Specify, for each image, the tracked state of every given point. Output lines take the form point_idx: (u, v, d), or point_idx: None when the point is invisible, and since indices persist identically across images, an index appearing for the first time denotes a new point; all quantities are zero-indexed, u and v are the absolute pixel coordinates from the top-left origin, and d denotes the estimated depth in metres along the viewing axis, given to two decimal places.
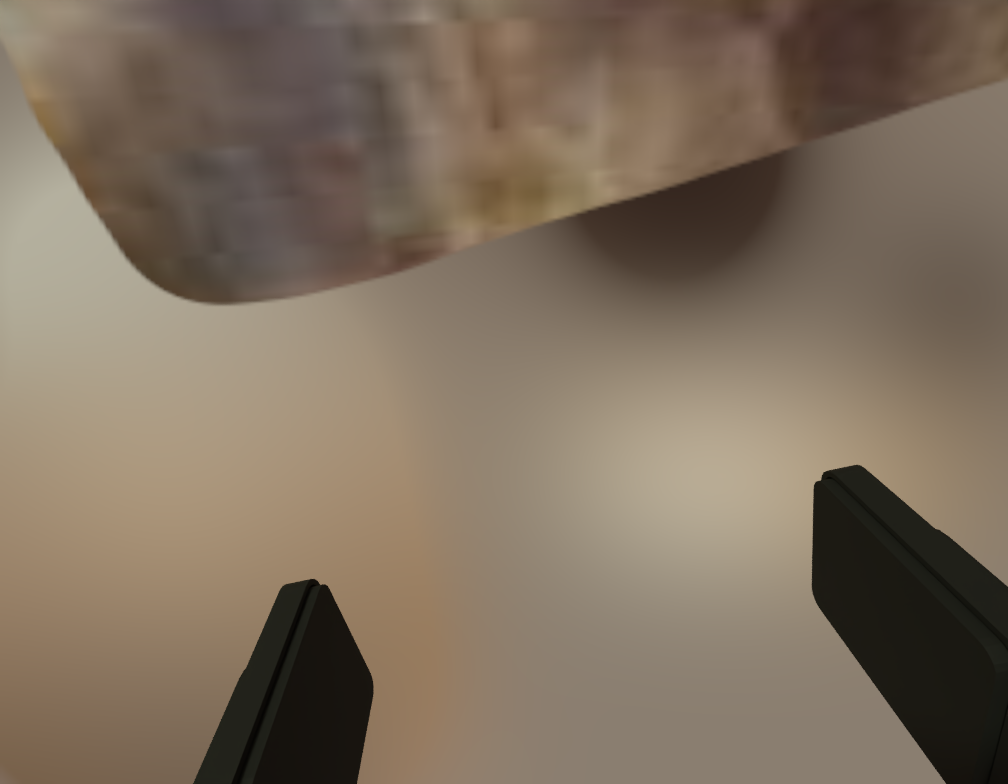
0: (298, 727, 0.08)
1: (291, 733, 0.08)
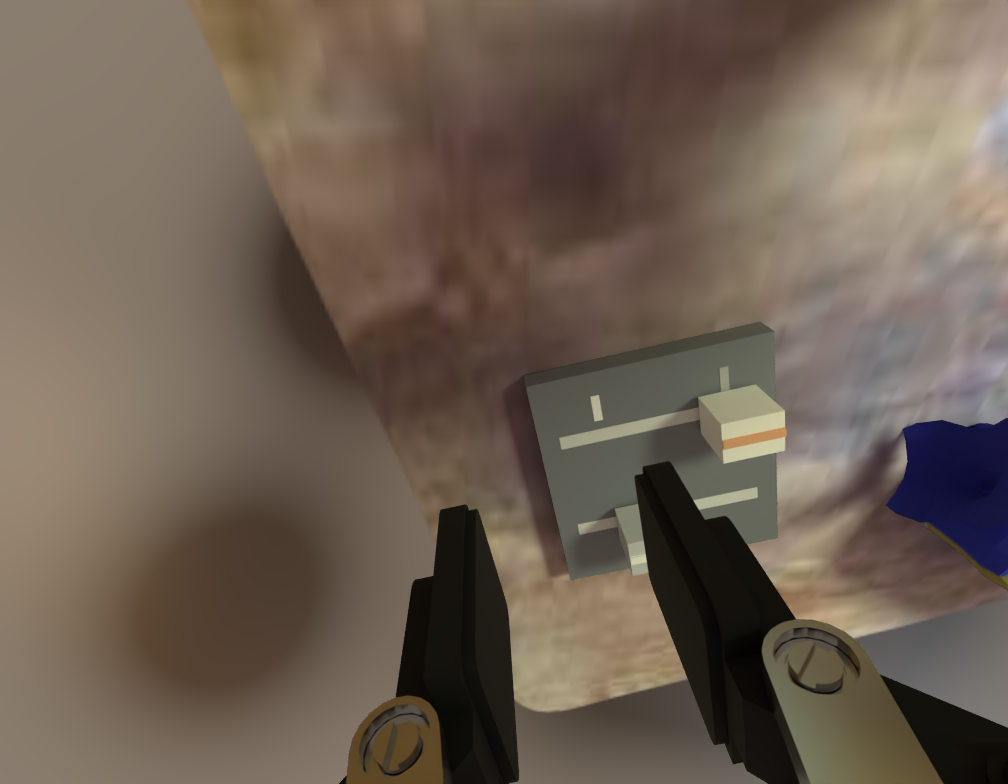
0: (485, 621, 0.09)
1: (483, 624, 0.09)
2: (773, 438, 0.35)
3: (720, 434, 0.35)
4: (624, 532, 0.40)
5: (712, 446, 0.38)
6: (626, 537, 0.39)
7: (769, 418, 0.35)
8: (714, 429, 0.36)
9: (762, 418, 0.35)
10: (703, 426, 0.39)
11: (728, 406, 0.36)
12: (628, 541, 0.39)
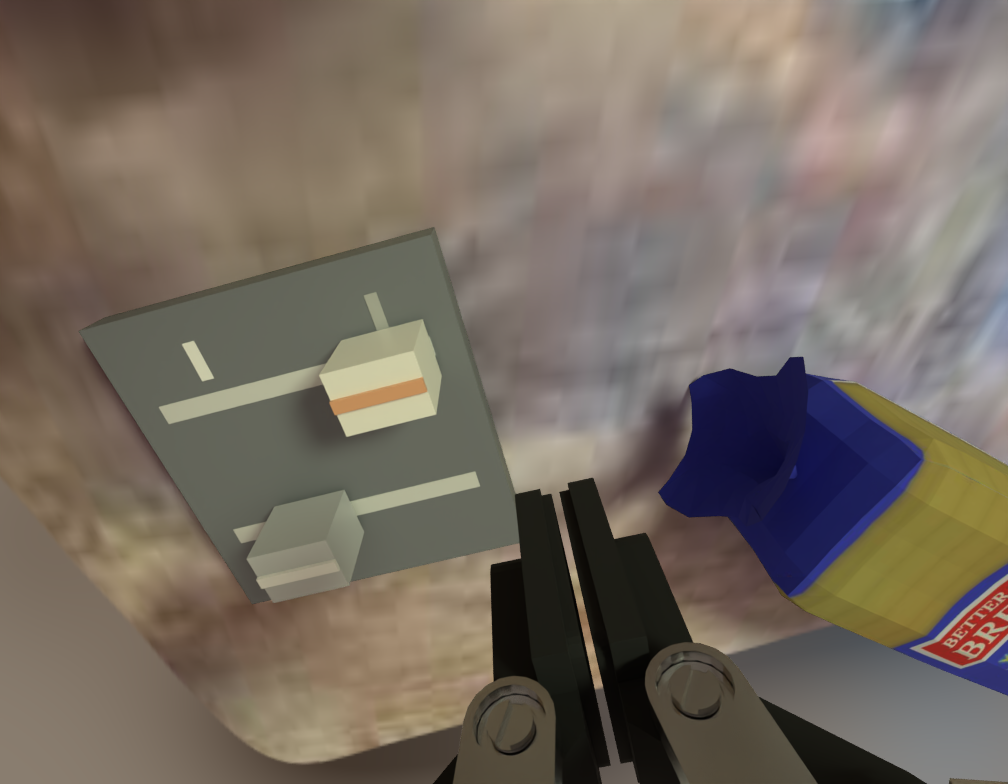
0: (574, 604, 0.09)
1: (575, 606, 0.09)
2: (407, 395, 0.23)
3: None
4: (257, 541, 0.27)
5: None
6: (253, 548, 0.27)
7: (393, 363, 0.22)
8: None
9: (381, 364, 0.22)
10: None
11: (357, 350, 0.24)
12: (250, 555, 0.26)
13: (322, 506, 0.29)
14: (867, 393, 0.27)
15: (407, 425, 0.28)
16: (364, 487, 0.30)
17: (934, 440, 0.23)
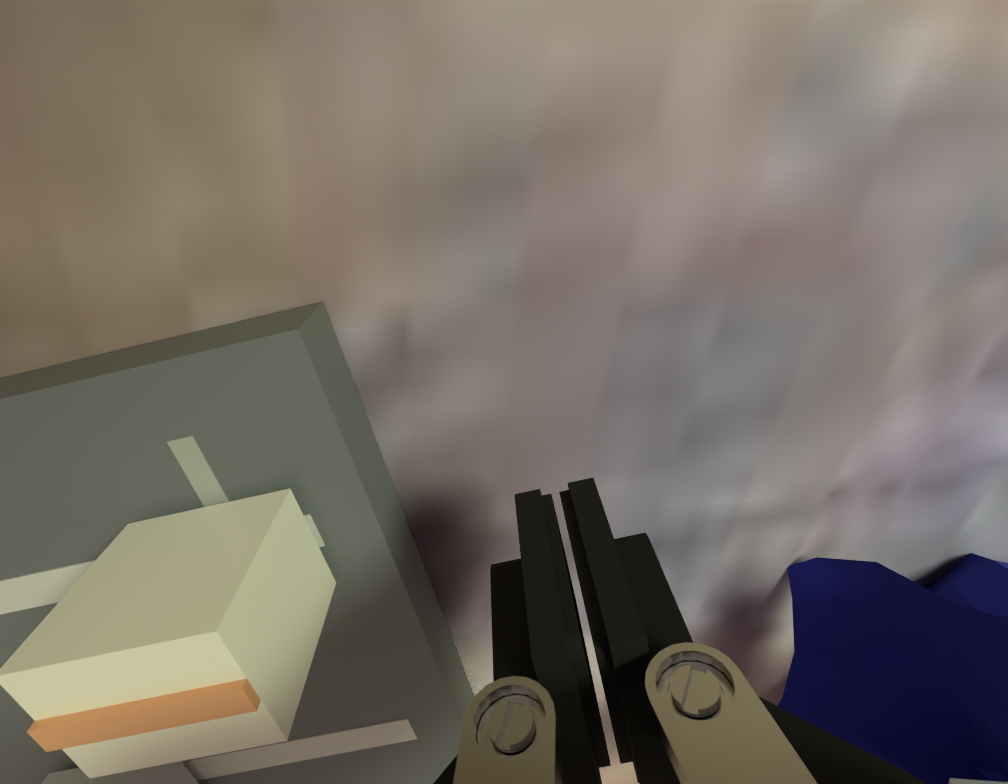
0: (574, 604, 0.09)
1: (575, 607, 0.09)
2: (212, 716, 0.10)
3: None
4: None
5: None
6: None
7: (170, 656, 0.09)
8: None
9: (143, 656, 0.09)
10: None
11: (126, 580, 0.11)
12: None
13: None
14: None
15: None
16: None
17: None
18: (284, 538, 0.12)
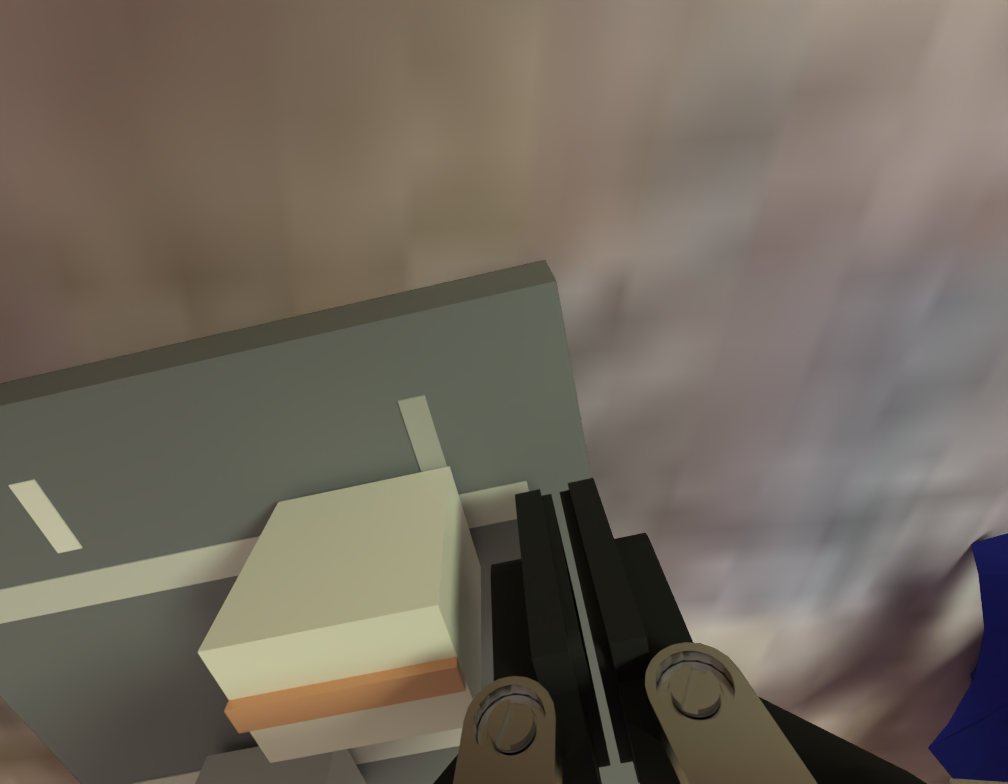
0: (574, 604, 0.09)
1: (575, 606, 0.09)
2: (418, 696, 0.09)
3: None
4: None
5: None
6: None
7: (385, 631, 0.09)
8: None
9: (356, 632, 0.09)
10: None
11: (304, 555, 0.11)
12: None
13: (295, 777, 0.15)
14: None
15: None
16: None
17: None
18: (453, 516, 0.12)
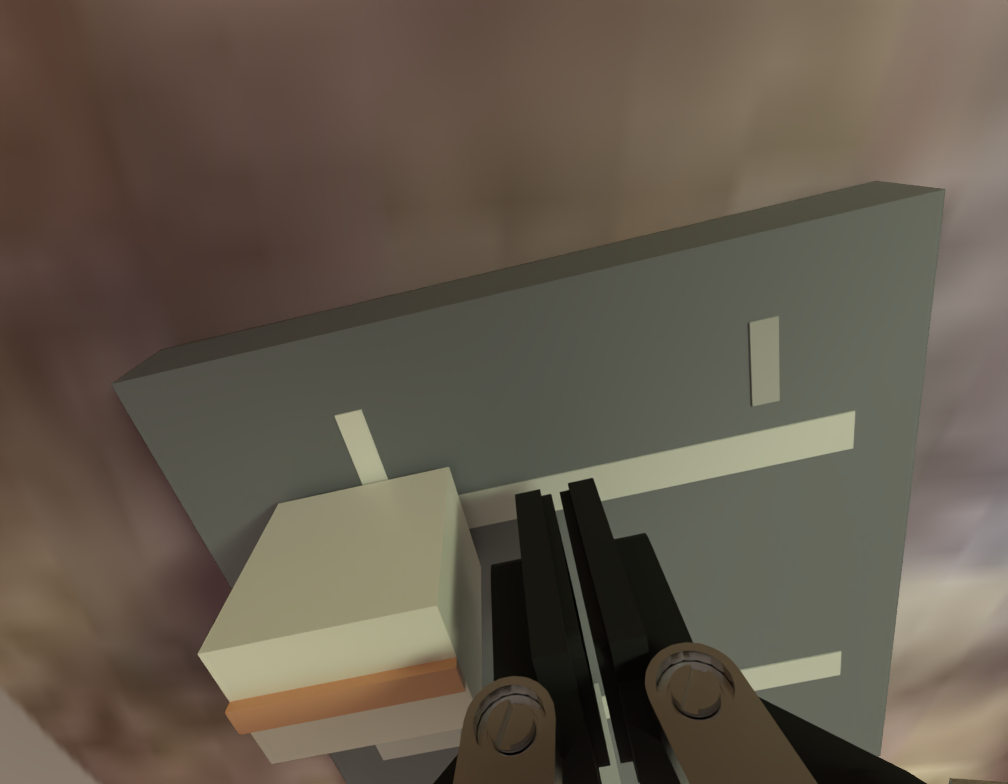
0: (574, 604, 0.09)
1: None
2: (417, 697, 0.09)
3: None
4: None
5: None
6: None
7: (384, 631, 0.09)
8: None
9: (355, 634, 0.09)
10: None
11: (304, 557, 0.11)
12: None
13: None
14: None
15: (746, 574, 0.14)
16: None
17: None
18: (453, 516, 0.12)
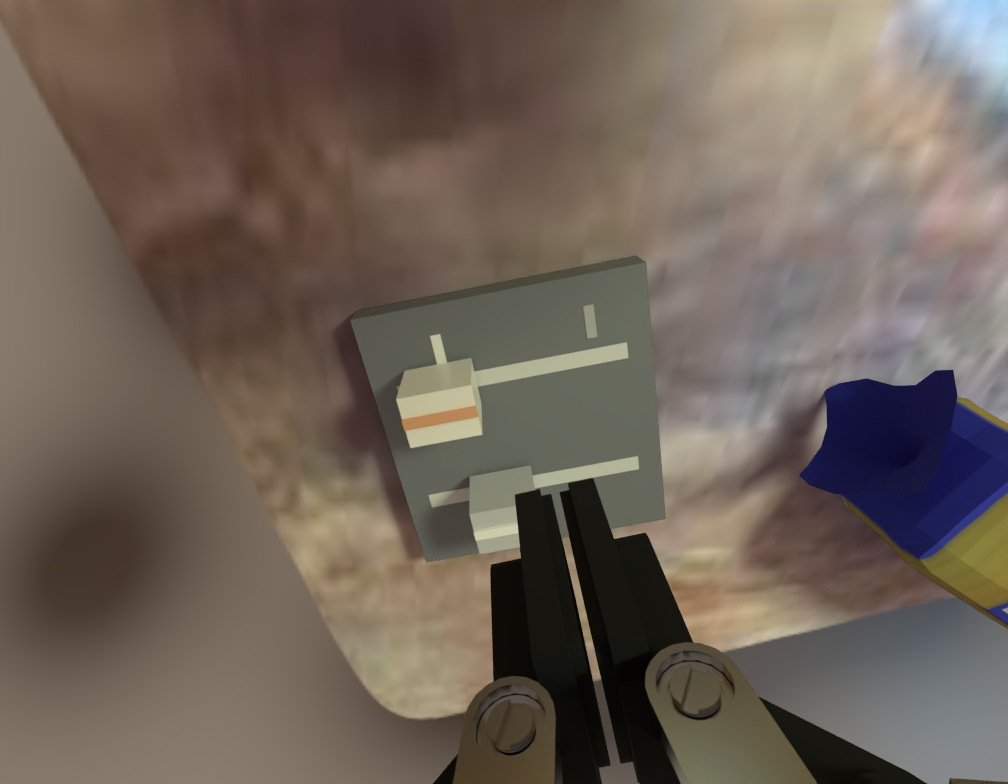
0: (574, 604, 0.09)
1: (575, 606, 0.09)
2: (462, 418, 0.29)
3: None
4: (470, 501, 0.33)
5: None
6: (470, 507, 0.33)
7: (454, 394, 0.29)
8: None
9: (445, 394, 0.29)
10: None
11: (422, 380, 0.30)
12: (471, 511, 0.32)
13: (517, 477, 0.35)
14: (978, 406, 0.34)
15: (592, 414, 0.35)
16: (545, 464, 0.36)
17: None
18: (473, 373, 0.32)
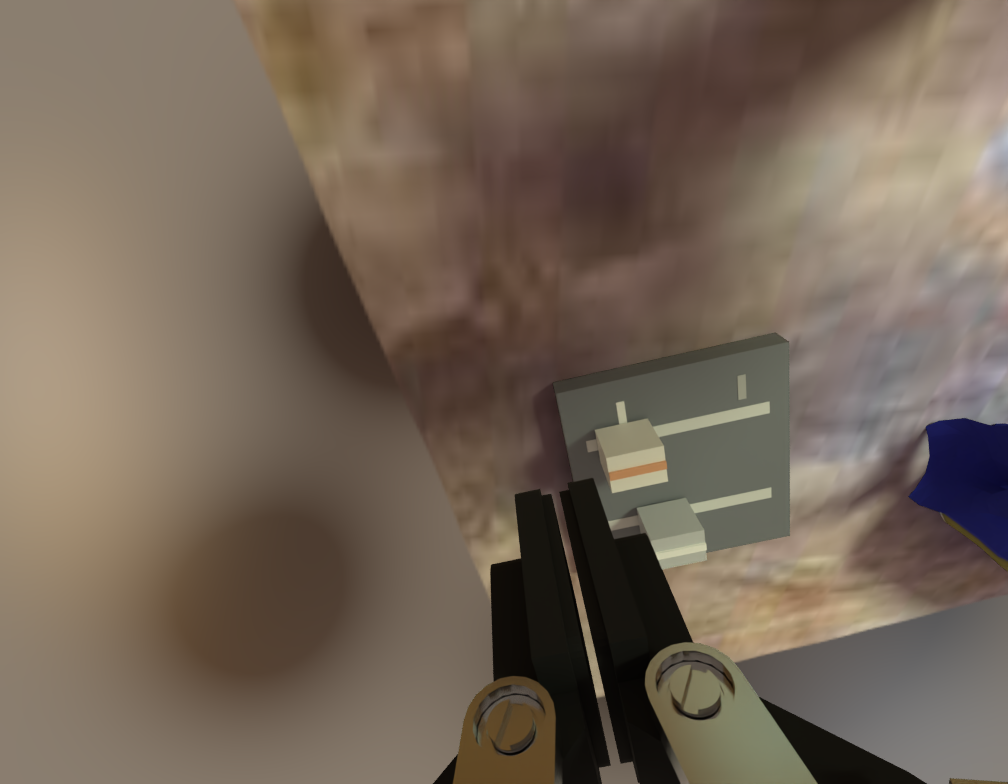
0: (574, 604, 0.09)
1: (575, 607, 0.09)
2: (655, 470, 0.38)
3: (607, 466, 0.38)
4: (647, 530, 0.42)
5: (606, 476, 0.41)
6: (649, 534, 0.42)
7: (650, 452, 0.38)
8: (604, 461, 0.39)
9: (643, 453, 0.38)
10: (600, 456, 0.42)
11: (617, 440, 0.39)
12: (651, 538, 0.41)
13: (678, 508, 0.43)
14: None
15: (737, 456, 0.43)
16: (696, 496, 0.45)
17: None
18: None
